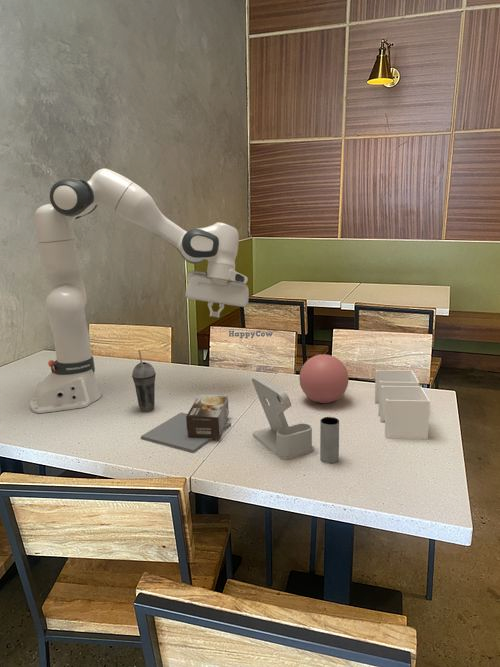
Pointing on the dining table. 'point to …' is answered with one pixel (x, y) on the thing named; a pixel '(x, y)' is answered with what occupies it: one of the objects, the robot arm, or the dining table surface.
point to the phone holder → (280, 423)
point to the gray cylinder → (329, 439)
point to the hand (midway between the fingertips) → (214, 317)
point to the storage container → (402, 404)
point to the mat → (177, 434)
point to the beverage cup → (144, 385)
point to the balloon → (323, 378)
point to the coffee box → (207, 416)
